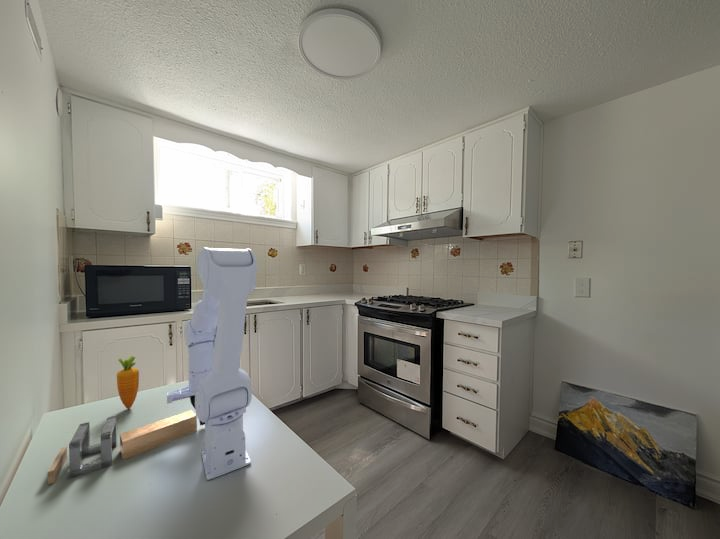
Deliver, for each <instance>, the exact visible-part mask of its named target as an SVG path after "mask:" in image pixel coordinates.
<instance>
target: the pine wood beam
mask: <svg viewBox="0 0 720 539" xmlns="http://www.w3.org/2000/svg"><path fill="white" fill-rule="evenodd" d="M197 431H198V417H197V414H196V412H194V411H193V410H192V409H190V410H186V411H183V412H181V413H178V414H176V415H175V414H174V415H173V416H169V417H167V418H163V419H160V420H158V421H154V422H151V423H148V424H146V425H143V426H139V427H137V428H134V429H131V430H128V431H125V432H122V433H120V434H119V448H120V449H119V450H120V454H121V458H122V460H123V461H124V460H127V459H129V458H132V457H133V456H134V457H135V456H136V455H139V454H142V453H144V452H147V451H149V450H151V449H153V448H154V449H155V448H156V447H159V446H162V445H164V444H167V443H170V442H171V441H175V440H176V439H179V438H182V437H185V436H187V435H190V434H192V433H195V432H197Z"/></svg>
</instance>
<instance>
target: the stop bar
mask: <svg viewBox="0 0 720 539" xmlns="http://www.w3.org/2000/svg"><path fill="white" fill-rule="evenodd" d="M67 459H68V447H67V446H64V447H61V448H60V450H59V452H58V453H57V455H56V457H55V459H54V460H53V462H52V464H51V465H50V468H49V469H48V470H47V485H49V486H50V485H51V484H55V482H56V480H57V479H58V476H59V475H60V473H61V470H62V468H63V467H64V465H65V463H66V461H67Z"/></svg>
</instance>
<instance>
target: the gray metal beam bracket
mask: <svg viewBox="0 0 720 539" xmlns="http://www.w3.org/2000/svg"><path fill="white" fill-rule="evenodd" d="M117 426H118V425H117V415H114V416H109V417H107V419H106V421H105V424H104V426H103V429H102V432H101V434H100V443H96V444H93V445H91V432H90V431H91V430H90V429H91V428H90V421H88V422H83V423H80V424H79V425H78V427H77V429H76V431H75V432H74V435H73V436H72V438H71V440H70V442H69V444H68V453H69V454H68V458H69V461H68V462H69V468H67V469H66V473H65V476H66V477H65V480H69V479H72V478H76V477H78V476H81V475H84V474H87V473H91V472H94V471H97V470H100V469H104V468H107V467H110V466H112V464H113V448H116V447H117V446H118V433H117V432H118V427H117ZM99 452H100V459H98V460H97V459H96V460H94V461H90V462H88V463H83V457H85V456H88V455H91V454H95V453H99Z"/></svg>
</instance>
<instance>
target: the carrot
mask: <svg viewBox="0 0 720 539" xmlns="http://www.w3.org/2000/svg"><path fill="white" fill-rule="evenodd" d="M117 359H118V362H119V363H120V364H121V366H122V369H121V370H119V371H118V372H117V373H116V384H117V387H116V388H117V392H118V395H119V398H120V401H121V403H122V404H123V406H124V407H125V409H127V410H129V409H131V408H132V406H133V405H134V402H135V401H136V398H137V395H138V391H139V385H140V371H139V369H137V368H136V367H134V365H136V364H137V363H136V361H135V362H134V360H135V359H136V356H135V355H131V356H130V357H128V359H127V358H126V359H124V360H123V359H122V358H121V357H120V358H117Z"/></svg>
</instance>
